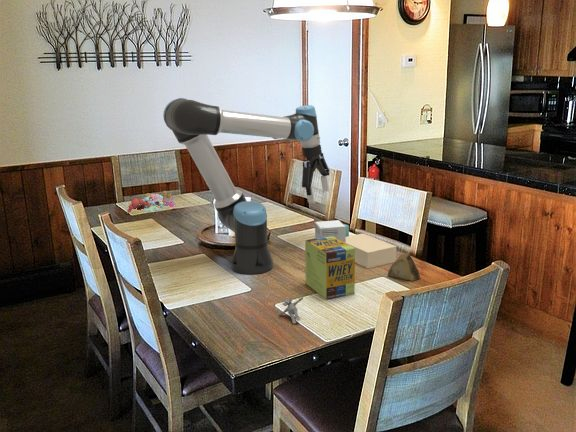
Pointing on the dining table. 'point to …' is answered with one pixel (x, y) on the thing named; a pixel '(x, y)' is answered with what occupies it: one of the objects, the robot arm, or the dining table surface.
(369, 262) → the sleeve
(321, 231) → the supplement box
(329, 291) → the protein box
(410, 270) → the rock
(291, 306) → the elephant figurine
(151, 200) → the candy landscape model
